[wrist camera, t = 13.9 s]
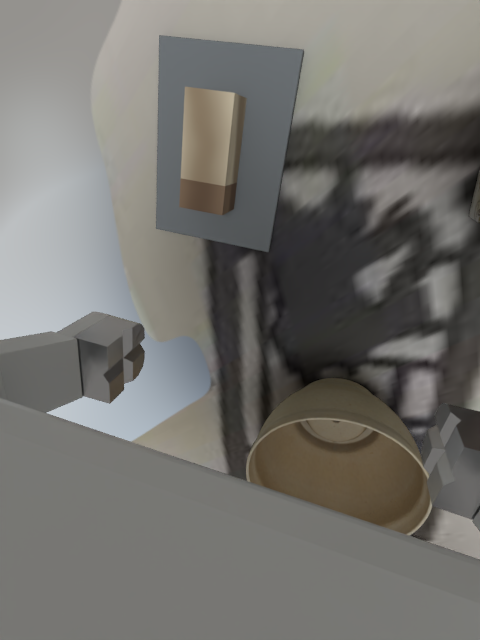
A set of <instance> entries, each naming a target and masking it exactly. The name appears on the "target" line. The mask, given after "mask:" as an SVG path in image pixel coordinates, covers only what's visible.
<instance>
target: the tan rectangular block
mask: <svg viewBox="0 0 480 640" xmlns="http://www.w3.org/2000/svg"><path fill="white" fill-rule="evenodd" d="M246 100H247V98H245V97H243V96H240V95H238V94H236V93H232V92H224V91H216V90H208V89H200V88H192V87H185V96H184V118H183V139H182V161H181V179H180V200H179V207H181V208H186V209H192V210H197V211H202V212H207V213H212V214H217V215H224V214H226V213H228V212H230V211H231V210H233V209H234V204H235V195H236V187H237V177H238V168H239V160H240V151H241V143H242V134H243V126H244V117H245V109H246Z"/></svg>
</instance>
